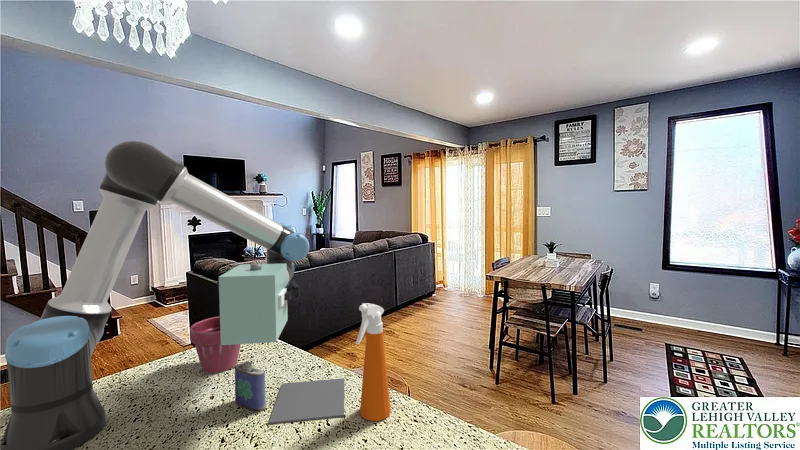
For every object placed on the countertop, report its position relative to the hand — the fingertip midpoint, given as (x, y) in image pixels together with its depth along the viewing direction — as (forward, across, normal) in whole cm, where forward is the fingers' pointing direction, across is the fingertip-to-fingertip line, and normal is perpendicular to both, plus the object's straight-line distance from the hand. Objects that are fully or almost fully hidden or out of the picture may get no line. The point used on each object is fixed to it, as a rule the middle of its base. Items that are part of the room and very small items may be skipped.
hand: (251, 302), depth 75 cm
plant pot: (-26, +16, -26) cm, 40 cm away
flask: (-4, +2, -26) cm, 26 cm away
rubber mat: (-4, -12, -26) cm, 29 cm away
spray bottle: (+5, -26, -26) cm, 37 cm away
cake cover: (-4, 0, -8) cm, 9 cm away
